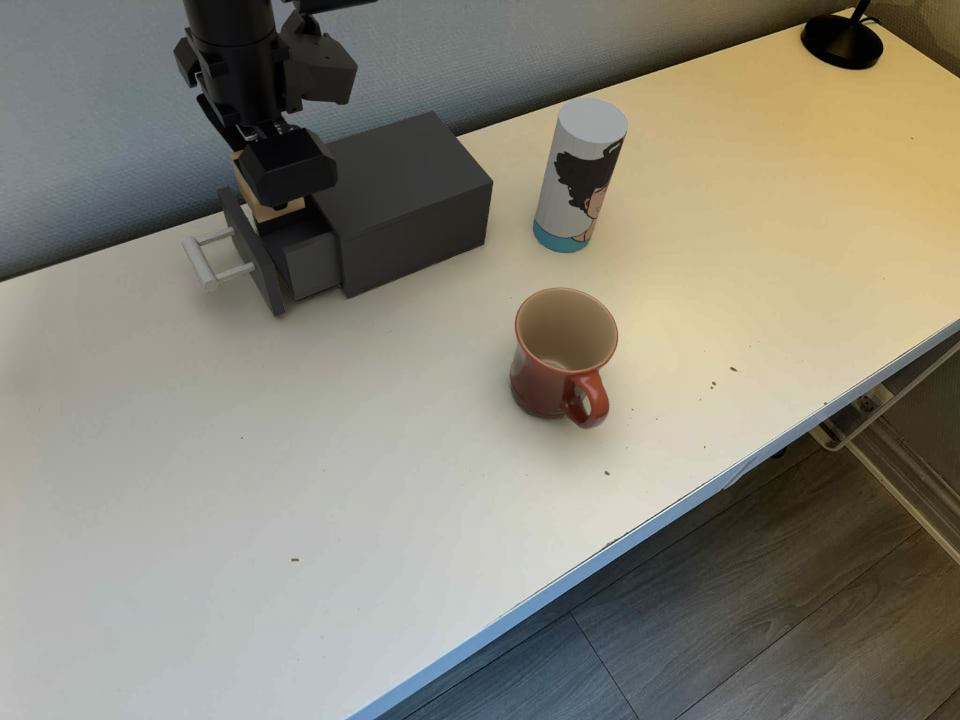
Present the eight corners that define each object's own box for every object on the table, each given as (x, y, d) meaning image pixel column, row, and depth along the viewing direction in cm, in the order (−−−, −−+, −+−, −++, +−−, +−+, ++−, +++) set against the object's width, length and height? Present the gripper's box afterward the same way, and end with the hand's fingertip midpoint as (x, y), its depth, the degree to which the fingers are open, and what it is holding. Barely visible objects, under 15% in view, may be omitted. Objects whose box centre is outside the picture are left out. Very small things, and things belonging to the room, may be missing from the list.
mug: (486, 365, 65) (498, 300, 56) (566, 342, 67) (589, 277, 58) (536, 473, 59) (559, 420, 50) (621, 444, 61) (656, 388, 53)
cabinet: (347, 299, 67) (340, 237, 60) (298, 221, 72) (285, 155, 65) (484, 244, 73) (494, 181, 66) (430, 175, 78) (433, 110, 71)
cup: (584, 259, 73) (621, 150, 61) (526, 242, 74) (551, 131, 61) (596, 218, 77) (633, 108, 64) (540, 203, 78) (566, 90, 65)
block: (258, 223, 58) (249, 185, 55) (239, 192, 60) (229, 153, 57) (305, 207, 60) (299, 169, 56) (285, 177, 62) (278, 138, 58)
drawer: (225, 337, 62) (205, 288, 56) (185, 258, 67) (163, 206, 61) (415, 261, 70) (416, 211, 64) (367, 195, 74) (364, 142, 68)
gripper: (399, 70, 45) (399, 230, 58) (287, -60, 53) (310, 107, 66) (240, 113, 41) (279, 275, 54) (145, -34, 49) (199, 138, 62)
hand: (270, 191), depth 59 cm, fingers closed on block, 4 cm apart
